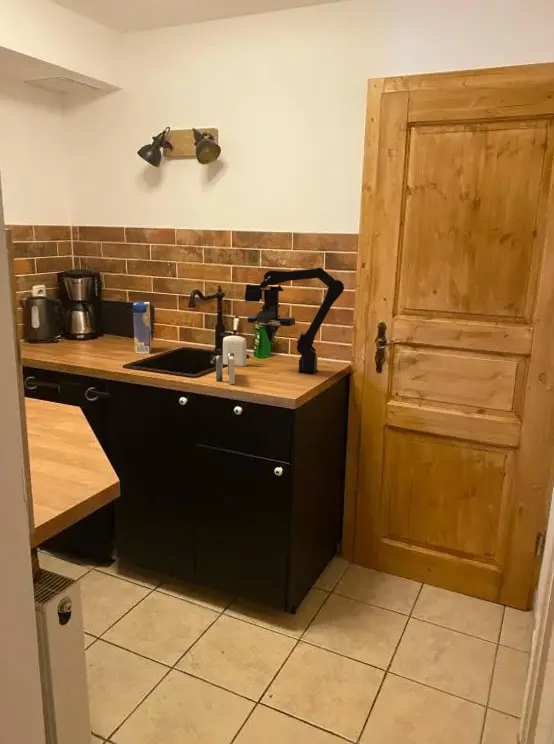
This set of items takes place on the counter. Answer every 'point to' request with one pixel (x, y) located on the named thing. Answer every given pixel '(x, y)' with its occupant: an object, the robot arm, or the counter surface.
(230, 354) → the hinge post
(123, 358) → the counter surface
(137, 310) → the beverage box
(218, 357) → the post
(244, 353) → the photo printer
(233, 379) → the off-white flat slab
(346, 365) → the counter surface
